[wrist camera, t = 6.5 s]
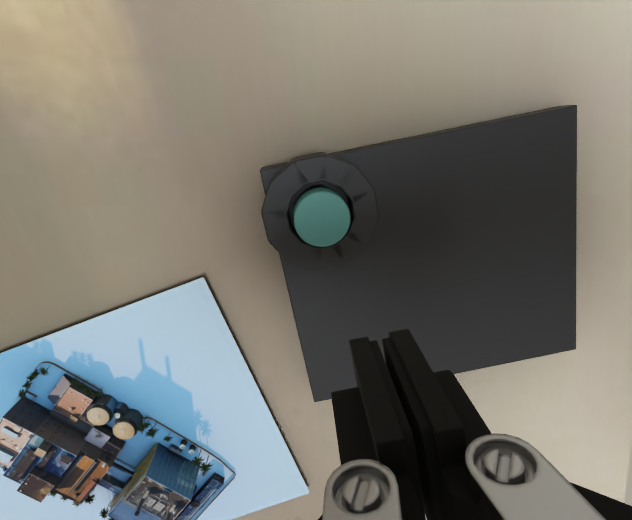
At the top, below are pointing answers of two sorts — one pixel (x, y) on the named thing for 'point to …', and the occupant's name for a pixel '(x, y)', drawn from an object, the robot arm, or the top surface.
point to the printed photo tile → (139, 420)
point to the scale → (437, 246)
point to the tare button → (321, 217)
